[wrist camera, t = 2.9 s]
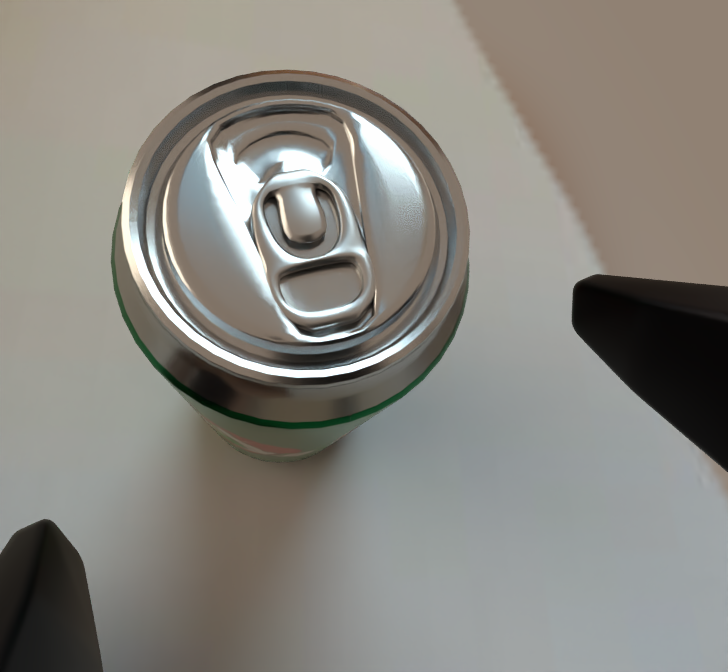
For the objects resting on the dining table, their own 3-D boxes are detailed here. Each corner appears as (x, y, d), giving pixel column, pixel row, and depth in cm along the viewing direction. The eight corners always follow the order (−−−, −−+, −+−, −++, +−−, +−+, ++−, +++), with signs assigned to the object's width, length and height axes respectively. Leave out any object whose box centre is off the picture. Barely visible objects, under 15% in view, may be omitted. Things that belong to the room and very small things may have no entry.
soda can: (333, 298, 19) (428, 24, 8) (375, 437, 18) (556, 356, 7) (187, 332, 18) (48, 68, 7) (223, 483, 17) (132, 477, 6)
